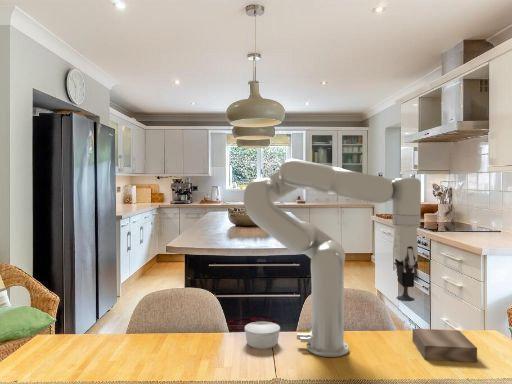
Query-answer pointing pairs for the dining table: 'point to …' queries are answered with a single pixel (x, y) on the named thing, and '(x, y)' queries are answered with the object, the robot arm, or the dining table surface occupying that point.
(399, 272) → the sundae
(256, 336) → the ramekin
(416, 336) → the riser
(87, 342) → the dining table surface
